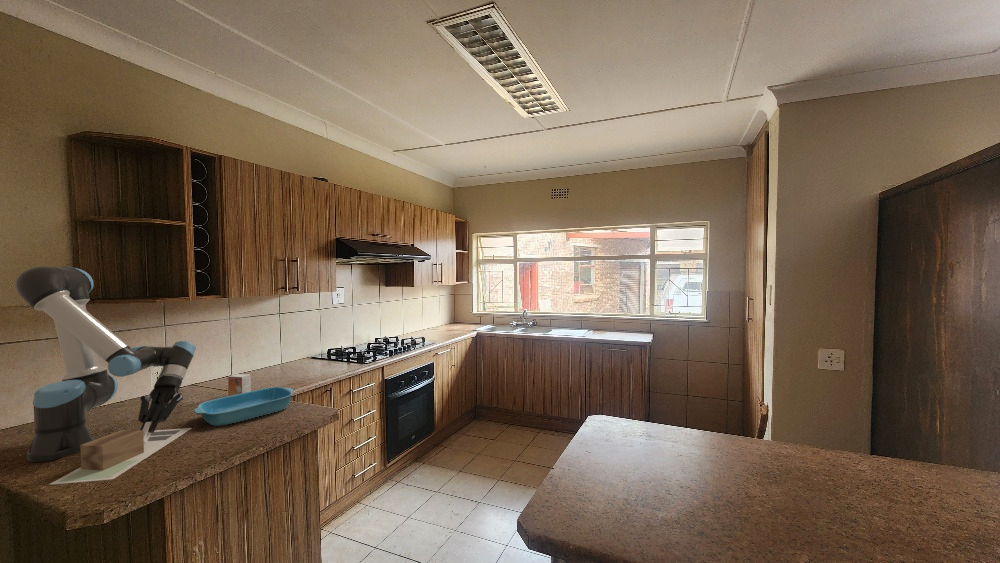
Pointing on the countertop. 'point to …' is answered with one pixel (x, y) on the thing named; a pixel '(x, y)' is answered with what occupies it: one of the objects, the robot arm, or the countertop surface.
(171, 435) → the board
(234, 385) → the small box
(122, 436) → the walnut block
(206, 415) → the casserole dish
